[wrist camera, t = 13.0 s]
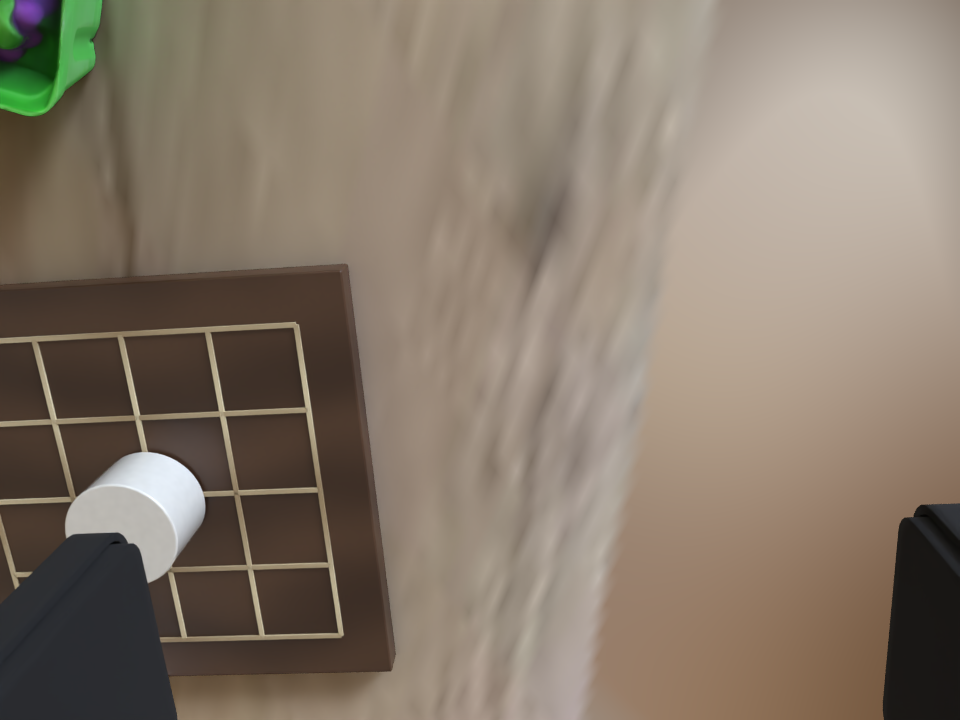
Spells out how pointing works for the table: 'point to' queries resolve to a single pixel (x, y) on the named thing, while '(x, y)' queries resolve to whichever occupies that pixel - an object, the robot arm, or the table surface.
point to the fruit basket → (44, 51)
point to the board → (208, 454)
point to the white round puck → (142, 508)
